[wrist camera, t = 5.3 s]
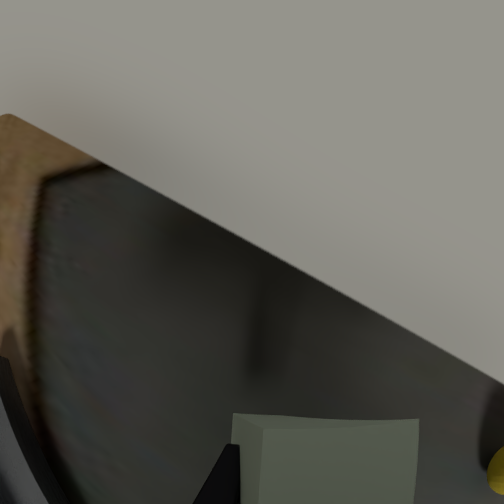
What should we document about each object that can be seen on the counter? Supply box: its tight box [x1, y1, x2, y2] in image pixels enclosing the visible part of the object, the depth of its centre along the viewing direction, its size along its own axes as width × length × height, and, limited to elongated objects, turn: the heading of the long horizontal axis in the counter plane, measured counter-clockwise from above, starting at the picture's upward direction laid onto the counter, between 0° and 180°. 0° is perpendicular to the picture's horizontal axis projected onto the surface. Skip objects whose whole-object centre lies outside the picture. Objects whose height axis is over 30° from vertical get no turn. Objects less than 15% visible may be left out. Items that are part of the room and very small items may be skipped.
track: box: [0, 356, 70, 504], centre depth 14 cm, size 18×8×3 cm, turn 32°
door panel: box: [231, 413, 419, 504], centre depth 8 cm, size 5×2×12 cm, turn 177°
